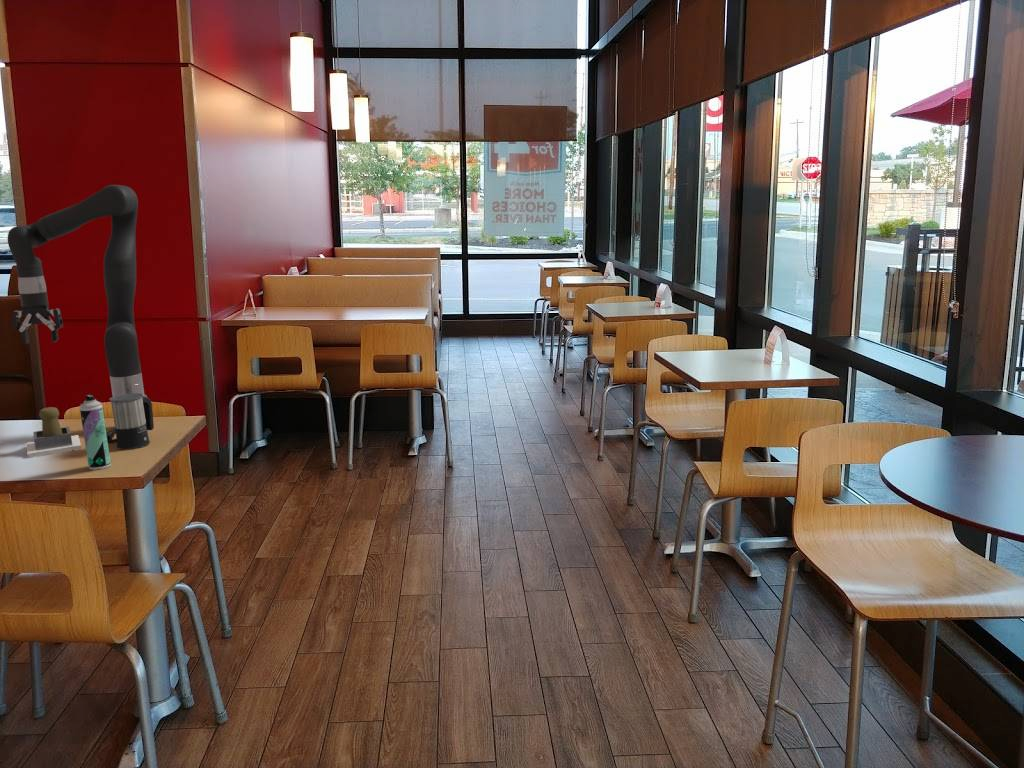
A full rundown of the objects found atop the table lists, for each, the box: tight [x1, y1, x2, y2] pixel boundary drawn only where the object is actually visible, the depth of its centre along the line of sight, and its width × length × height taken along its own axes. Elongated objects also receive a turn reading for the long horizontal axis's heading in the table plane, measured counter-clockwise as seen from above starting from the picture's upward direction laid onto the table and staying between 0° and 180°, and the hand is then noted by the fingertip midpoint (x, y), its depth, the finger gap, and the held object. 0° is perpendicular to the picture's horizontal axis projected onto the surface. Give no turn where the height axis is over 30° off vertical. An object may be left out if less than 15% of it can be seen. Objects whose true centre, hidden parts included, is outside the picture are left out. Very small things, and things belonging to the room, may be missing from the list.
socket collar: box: [32, 426, 72, 451], centre depth 267 cm, size 10×10×4 cm
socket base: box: [26, 434, 83, 458], centre depth 268 cm, size 14×14×1 cm
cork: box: [38, 406, 63, 437], centre depth 266 cm, size 6×6×11 cm
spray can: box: [79, 394, 112, 471], centre depth 244 cm, size 6×6×20 cm
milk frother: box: [106, 393, 155, 450], centre depth 268 cm, size 14×16×15 cm
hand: (40, 342), depth 284 cm, fingers open, 8 cm apart
